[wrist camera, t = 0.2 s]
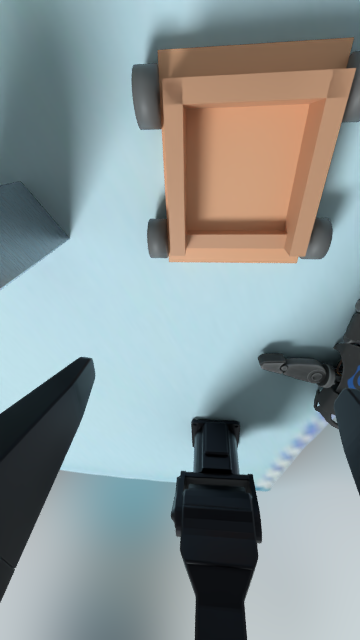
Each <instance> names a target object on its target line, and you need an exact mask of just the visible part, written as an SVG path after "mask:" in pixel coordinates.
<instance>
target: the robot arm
mask: <svg viewBox="0 0 360 640" xmlns="http://www.w3.org/2000/svg"><path fill="white" fill-rule="evenodd" d="M94 380H95V369H94V363H93V360H92V358H88V357H80V358H78V359H77V360H75V361H74V362H72V363H71V364H70V365H68V366H67V367H65V368H64V369H63V370H61V371H60V372H58V373H57V374H56V375H54V376H53V377H51V378H50V379H48V380H47V381H46V382H44V383H43V384H41V385H40V386H39V387H37V388H36V389H34V390H33V391H32V392H30V393H29V394H27V395H26V396H25V397H23V398H22V399H20V400H19V401H18V402H16V403H15V404H13V405H12V406H11V407H9V408H8V409H6V410H5V411H4V412H2V413H1V414H0V602H1V600H2V598H3V595H4V593H5V591H6V589H7V586H8V584H9V582H10V580H11V577H12V575H13V573H14V570H15V569H14V568H16V566H17V563H18V561H19V559H20V557H21V555H22V552H23V550H24V548H25V546H26V543H27V541H28V539H29V537H30V534H31V532H32V530H33V528H34V525H35V523H36V521H37V519H38V517H39V514H40V512H41V510H42V508H43V505H44V503H45V501H46V498H47V496H48V494H49V492H50V490H51V487H52V485H53V483H54V480H55V478H56V476H57V474H58V472H59V470H60V467H61V465H62V463H63V461H64V458H65V456H66V454H67V452H68V449H69V447H70V445H71V443H72V440H73V438H74V436H75V434H76V431H77V429H78V427H79V425H80V422H81V420H82V417H83V414H84V411H85V408H86V405H87V402H88V399H89V396H90V393H91V389H92V386H93V383H94ZM334 411H335V415H336V419H337V423H338V428H339V432H340V436H341V440H342V444H343V448H344V452H345V454H346V458H347V461H348V464H349V466H350V469H351V472H352V475H353V478H354V480H355V484H356V486H357V489H358V492H359V495H360V390H358V389H353V388H345V389H343V390H342V392H341V393H340V395H339V396H338V398H337V399H336V400H335V402H334ZM191 427H192V443H193V447H194V469H193V472H186V471H181V475H180V476H179V477H177V483H176V493H175V497H174V502H173V507H172V511H171V518H172V520H173V521H174V523H175V528H176V536H177V537H181V541H180V551H181V555H182V558H183V561H184V565H185V568H186V571H187V573H188V576H189V579H190V582H191V585H192V587H193V590H194V593H195V596H196V615H195V640H247V633H246V621H245V607H244V601H245V598H246V595H247V592H248V589H249V586H250V582H251V580H252V577H253V574H254V571H255V567H256V564H257V560H258V550H257V543H261V542H262V529H261V519H260V511H259V506H258V501H257V496H256V490H255V485H254V480H253V475H252V474H248V475H239V464H238V454H237V447H238V440H239V432H240V423H239V422H234V421H211V420H192V422H191Z"/></svg>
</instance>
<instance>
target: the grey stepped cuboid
mask: <svg viewBox="0 0 360 640" xmlns="http://www.w3.org/2000/svg"><path fill="white" fill-rule="evenodd" d="M67 240H69V237H68V236H67V235H66V234H65V233H64V232H63V230H62V229H61V228H60V227H59V226H58V225H57V223H56V222H55V221H54V220H53V219H52V218H51V216H50V215H49V214H48V213H47V212H46V211H45V209H44V208H43V207H42V206H41V205H40V203H39V202H38V201H37V200H36V199H35V198H34V196H33V195H32V194H31V193H30V192H29V191H28V189H27V188H26V187H25V186H24V185H23V184H22V182H21V181H20V182H15V183H11V184H6V185H2V186H0V290H1V289H3V288H4V287H5V286H7V285H8V284H10V283H11V282H12V281H14V280H15V279H17V278H18V277H19V276H21V275H22V274H23V273H25V272H26V271H28V270H29V269H30V268H32V267H33V266H34V265H36V264H37V263H38V262H40V261H41V260H42V259H44V258H45V257H46V256H47V255H49V254H50V253H51V252H53V251H54V250H55V249H57V248H58V247H59V246H61V245H62V244H63V243H65V242H66V241H67Z"/></svg>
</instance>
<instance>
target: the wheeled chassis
mask: <svg viewBox="0 0 360 640" xmlns="http://www.w3.org/2000/svg"><path fill="white" fill-rule="evenodd" d="M353 40H354V37H352V38H336V39H321V40H305V41H290V42H274V43H258V44H243V45H227V46H212V47H196V48H181V49H165V50H158V64H157V63H154V64H137V65H133V68H132V94H133V103H134V109H135V115H136V119H137V123H138V126H139V128H140V129H141V130H150V129H162V141H163V160H164V178H165V196H166V215H167V219H150V220H149V222H148V230H147V241H148V250H149V254H150V257H151V258H168V255H169V262H230V263H297V260H298V257H300V258H301V259H322V258H323V257H324V256H325V255H326V254H327V252H328V250H329V247H330V244H331V240H332V223H331V221H330V219H329V218H316V214H317V211H318V207H319V203H320V200H321V196H322V192H323V189H324V185H325V181H326V178H327V174H328V170H329V167H330V163H331V159H332V155H333V152H334V148H335V144H336V141H337V137H338V133H339V130H340V126H341V122H359V121H360V51H355V52H353V53H352V54H351V55H350V52H351V48H352V44H353ZM349 55H350V56H349Z"/></svg>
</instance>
